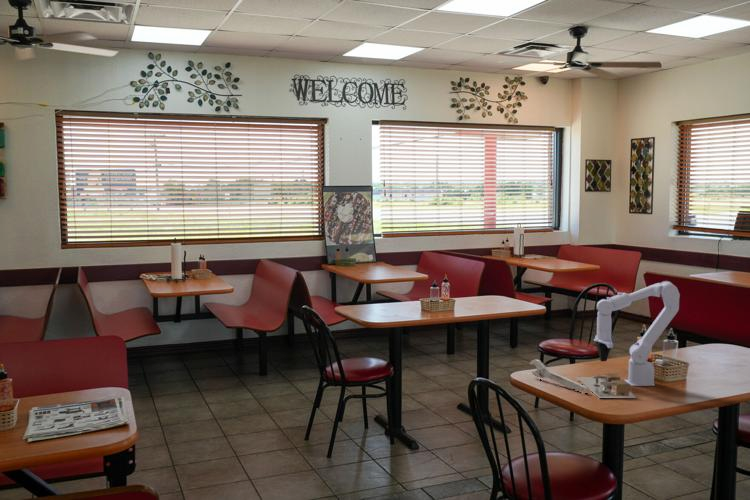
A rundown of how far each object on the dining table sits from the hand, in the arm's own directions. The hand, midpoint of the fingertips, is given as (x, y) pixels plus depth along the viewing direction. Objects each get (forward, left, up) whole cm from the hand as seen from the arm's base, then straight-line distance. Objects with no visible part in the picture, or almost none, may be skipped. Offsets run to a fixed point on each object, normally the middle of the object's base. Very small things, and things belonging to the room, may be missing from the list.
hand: (603, 360), depth 279 cm
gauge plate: (+3, +10, -9) cm, 14 cm away
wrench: (+20, +5, -9) cm, 23 cm away
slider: (+3, +9, -7) cm, 12 cm away
